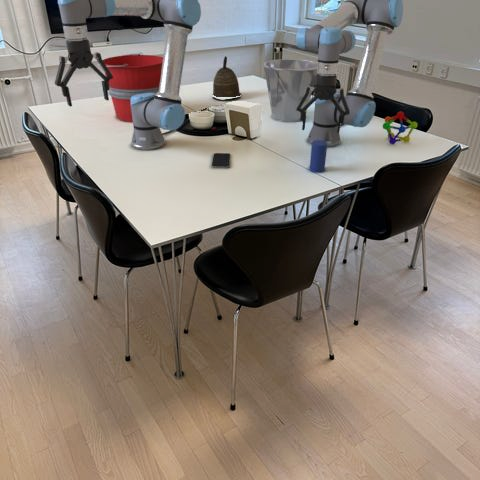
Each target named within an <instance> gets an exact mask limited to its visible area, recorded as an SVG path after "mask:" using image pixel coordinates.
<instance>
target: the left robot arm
mask: <svg viewBox="0 0 480 480" xmlns="http://www.w3.org/2000/svg"><path fill="white" fill-rule="evenodd" d="M57 4H58V8H59V9H58V10H59V13H60V18H61V23H62V28H63V34H64V39H66V41H65V43H66V48H67V56H63V55H59V57H58V59H59V64H58V68H57V71H56V76H55V80H54V85H55V86H57V87H59V88H61V93H62V96H63V97H64V98H65V99H66V104H67V106H69V107H73V103H72V97H71V93H70V88H69V86H68V83H69V81H70V80H71V78H72V76H73V74H74V73H75V72H76V70H77V69H78V70H81V69H88V68H90V69H91V70H92V71H93V72H95V73H96V74H97V75H98V77H100V78H101V87H102V91H103V99H104V100H105V101H109V98H110V97H109V90H110V88H109V81H110V79H113V76H112V74H111V73H110V71H109V70H108V68H107V67H106V65H105V63H104V62H103V60H104V59H103V58H102V54H101V53H100V52H98V51H95V52H94V53H92V49H91V45H90V44H91V43H90V40H89V33H88V27H87V20H86V19H93V18H107V17H111V16H119V17H120V16H122V17H123V16H125V17H141V18H142V19H144V20H154V21H159V22H163V27H164V28H165V30H166V35H165V42H164V49H163V56H162V57H163V63H162V71H161V78H160V85H159V91H158V92H157V93H156V94H155V93H143V94H137V95H134V96H132V97H131V105H130V106H131V111H132V118H133V122H132V125H133V132H132V135H131V142H130V143H131V147H132V148H134V149H135V150H141V151H151V150H153V151H154V150H157V149H161V148H163V147H164V146H165V144H166V140H165V137H164V135H167V134H170V133H173V132H176V131H177V130H179V129H181V128H182V127H183V126H184V125H185V124H187V122H189V121H190V119H188V118H187V119H188V120H187V119H186V111H185V108H184V106H183V105H182V100H183V99H182V98H181V96H180V90H181V84H182V76H183V70H184V64H185V56H186V51H187V50H186V49H187V42H188V37H189V35H191V33H193V29H194V26H196V25H197V24H198V23H199V22H200V20H201V16H202V9H201V4H200V2H199V0H57ZM93 59H94V60H96V62H97V64H98V63H99V65H100V66H99V67H100V68H101V69H102V70H103V72H102V71H101V70H100V69H99V68H98V67H97V66H96V65H95V64H94V63H93V62H92V61H93ZM68 62H69V63H70V65H69V66H68V69H67V71H66V73H65V68H66V64H67V63H68ZM64 73H65V74H64ZM105 74H106V75H107V76H105ZM204 108H205V109H204ZM204 108H202V109H203V110H202V109H200V110H201V112H203V111H206V110H208V109H207V108H208V107H207V108H206V107H204ZM185 119H186V120H187V121H186V120H185ZM185 121H186V122H185ZM184 122H185V123H184ZM162 130H164V131H165V132H162Z"/></svg>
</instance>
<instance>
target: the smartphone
mask: <svg viewBox="0 0 480 480" xmlns="http://www.w3.org/2000/svg"><path fill="white" fill-rule="evenodd" d="M230 160H231V154H230V153H229V152H215V153H213V155H212V162H211V167H212V168H214V169H215V168H219V169H220V168H221V169H225V168H226V169H228V168H229V167H230Z"/></svg>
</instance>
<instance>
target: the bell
mask: <svg viewBox="0 0 480 480" xmlns="http://www.w3.org/2000/svg"><path fill="white" fill-rule="evenodd" d="M227 63H228V57H227V56H224V58H223V63H222V67H221V68H219V69H218V70H217V71H216V73H215V75H214V78H213V81H212V83H213V84H212V95H214V96H216V97H236V96H240V95H241V96H242V93H241V92H240V83H239V80H238V79H239V78H238V77H237V75H236V73H235V72H234V70H232V69H231V68H230V67H227Z"/></svg>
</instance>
